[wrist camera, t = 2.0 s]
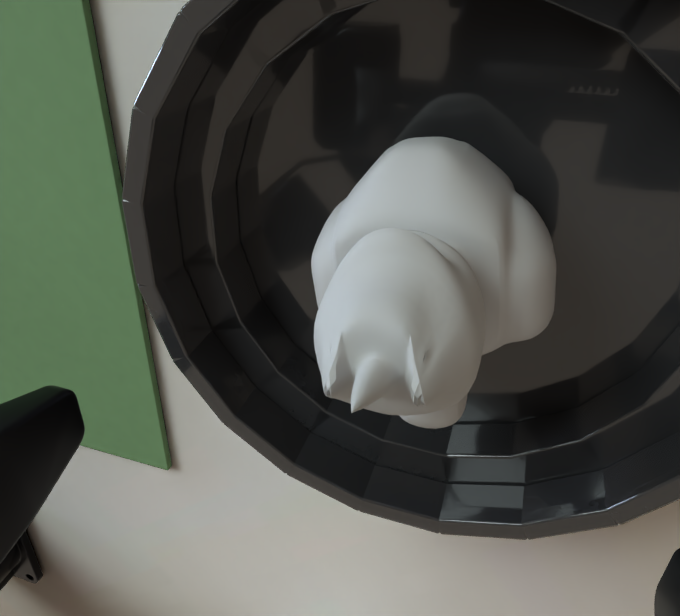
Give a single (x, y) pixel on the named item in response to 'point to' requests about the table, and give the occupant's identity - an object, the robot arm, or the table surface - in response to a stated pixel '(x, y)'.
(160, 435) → the cloth
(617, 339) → the pan
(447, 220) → the white animal figurine
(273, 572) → the table surface
